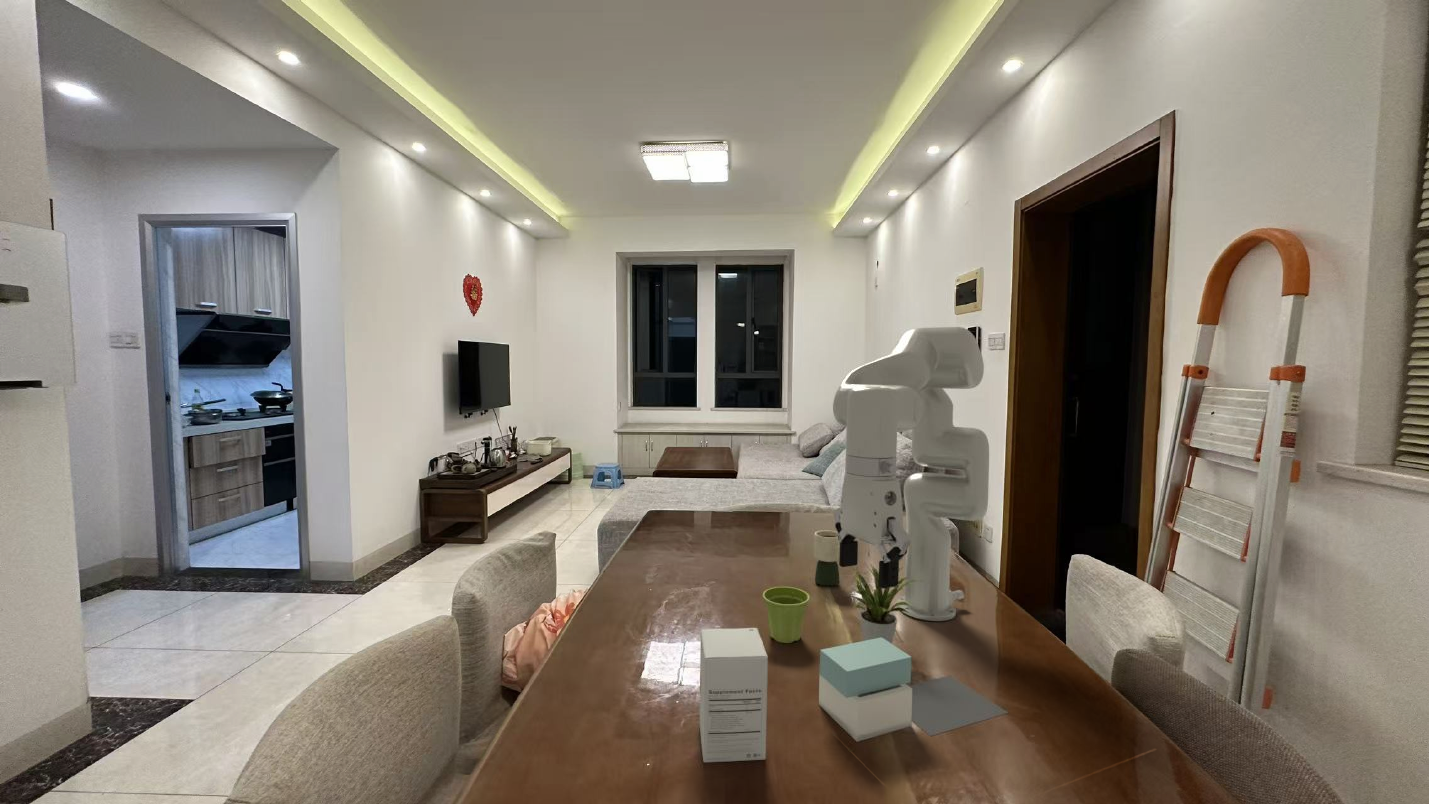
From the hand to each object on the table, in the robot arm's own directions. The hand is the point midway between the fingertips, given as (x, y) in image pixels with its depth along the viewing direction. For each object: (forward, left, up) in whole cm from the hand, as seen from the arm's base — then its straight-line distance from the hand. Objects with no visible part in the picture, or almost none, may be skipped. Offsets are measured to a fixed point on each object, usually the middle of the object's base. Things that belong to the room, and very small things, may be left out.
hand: (867, 575), depth 88 cm
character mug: (-27, -50, -22) cm, 61 cm away
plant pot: (-2, -28, -22) cm, 36 cm away
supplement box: (+22, -2, -22) cm, 32 cm away
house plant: (-18, -17, -22) cm, 33 cm away
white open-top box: (0, 0, -22) cm, 22 cm away
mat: (-14, +2, -22) cm, 26 cm away
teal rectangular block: (0, 0, -16) cm, 16 cm away
